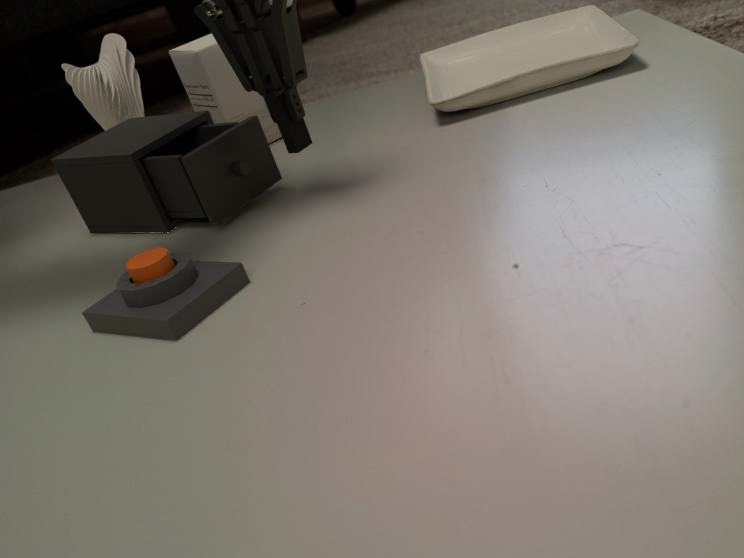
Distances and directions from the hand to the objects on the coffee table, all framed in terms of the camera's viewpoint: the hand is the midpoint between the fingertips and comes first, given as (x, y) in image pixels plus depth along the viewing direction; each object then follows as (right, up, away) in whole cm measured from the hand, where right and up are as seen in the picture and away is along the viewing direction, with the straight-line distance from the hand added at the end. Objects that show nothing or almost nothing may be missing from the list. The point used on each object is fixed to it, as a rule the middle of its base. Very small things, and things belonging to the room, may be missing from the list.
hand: (300, 148), depth 95 cm
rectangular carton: (-13, +7, +27) cm, 30 cm away
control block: (-9, -19, -15) cm, 26 cm away
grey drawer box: (-19, -5, +11) cm, 23 cm away
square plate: (+27, +16, +22) cm, 38 cm away
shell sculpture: (-31, +6, +34) cm, 46 cm away
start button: (-10, -16, -17) cm, 25 cm away
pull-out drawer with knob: (-11, -5, +5) cm, 14 cm away
